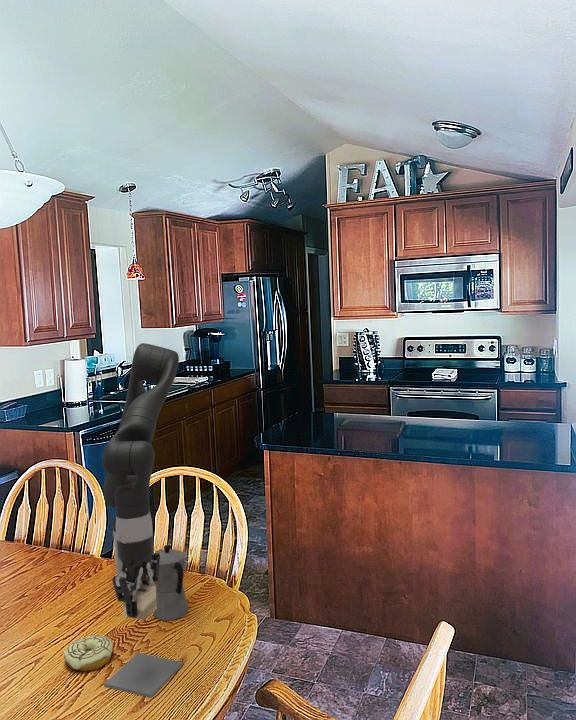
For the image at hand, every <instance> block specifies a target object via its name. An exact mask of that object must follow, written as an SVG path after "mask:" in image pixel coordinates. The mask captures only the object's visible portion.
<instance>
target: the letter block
mask: <svg viewBox="0 0 576 720" xmlns="http://www.w3.org/2000/svg"><path fill="white" fill-rule="evenodd" d="M129 593H130V595H132V590H131V589H130V590H129ZM122 595H123V594H122ZM136 600H137V612H138V616H137V617H136V618H135V619H136V620H137V619H138V620H143V621H144V620H145V619H146V618H147V617H149V616H150V615H151V614H152V613H153V612H154V611H155V610H156V609H157V599H156V585H154V586H150V585H143V584H140V588H139V589H138V590H137V596H136ZM122 609H123V617H125V618H129V617H128V616H127V613H126V602H122Z"/></svg>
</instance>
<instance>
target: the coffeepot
mask: <svg viewBox="0 0 576 720" xmlns="http://www.w3.org/2000/svg"><path fill="white" fill-rule="evenodd" d="M170 548H171V546H170V545H169V544H166V545H164V546H163V548H160V549H159V550H157V549H156V550H155V553H159V554H160V563H159V578H158V581H155V582H154V586H156V599H157V609H156V610H155V611H154V615H153V617H154V618H155V619H157V620H159V621H163V622H164V621H169V622H170V621H174V620H179V619H181V618H183V617H184V616H186V615H187V614H188V613H189V606H188V601H187V597H186V592H185V588H184V585H183V583H184V574H185V571H184V570H185V559H186V557H185V551H183V550H178V549H175V548H174V549H170ZM152 573H153V575H154V570H152Z"/></svg>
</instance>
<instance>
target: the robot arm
mask: <svg viewBox="0 0 576 720" xmlns="http://www.w3.org/2000/svg"><path fill="white" fill-rule="evenodd" d="M179 363H180V358H179V353H178V352H177V351H175V350H173V349H170V348H166V347H163V346H158V345H155V344H149V343H145V342H143V343H140V344H138V345H137V347H136V348H135V351H134V354H133V358H132V361H131V368H130V374H129V381H128V387H127V394H126V398H125V403H124V406H123V411H122V415H121V418H120V422H119V427H118V429H117V431H116V432H115V433H114V435H112V437H111V438H109V439H110V440H109V441H108V442H107V443H106V444H105V447H104V449H103V452H102V456H101V463H102V467H103V470H104V472H106V476H105V480H104V483H103V499H104V501H105V503H106V505H107V506H108V507H110V508H112V509H115V517H114V519H113V520H112V532H113V533H112V534H113V546H114V557H115V559H114V561H115V569H116V571H115V572H116V574H115V575H114V576H113V577H112V584H113V588H114V592H115V594H116V595H115V596H116V599H117V602H122V603H123V602H126V613H127V616H128V617H127V618H132V619H136V617H137V616H138V612H137V600H136V596H137V590H138V589H139V588H140V584H143V585H150V586H155V581H158V578H159V563H160V554H159V553H156V552H155V543H154V531H153V530H154V529H153V520H152V515H151V509H150V508H151V507H150V495H149V494H150V493H149V492H150V483H151V479H152V478H151V477H152V472H153V468H154V464H155V457H156V456H155V450H154V447H153V446H152V444H153V440H154V436H155V433H156V432H155V431H156V428H157V421H158V417H159V414H160V413H161V409H162V408H163V405H164V403H165V401H166V399H167V397H168V394H169V392H170V390H171V388H172V386H173V384H174V381H175V378H176V376H177V373H178V368H179ZM144 382H147V383H151V384H155V385H154V386H153V387H151V388H150V389H149V390H147V391H146V390H145V387H144ZM152 570H154V575H153V573H152ZM130 589H131V590H132V595H130V593H129V590H130ZM122 594H123V595H122Z"/></svg>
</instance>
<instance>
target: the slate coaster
mask: <svg viewBox="0 0 576 720" xmlns="http://www.w3.org/2000/svg"><path fill="white" fill-rule="evenodd" d="M183 666H184V662H183V661H178V660H175V659H169V658H164V657H159V656H156V655H151V654H147V653H141V652H137V653H136V654H135V655H134V656H133V657H132V658H130V659H129V660H128V661H127V662H126V663H125V664H124V665H123V666H122V667H120V669H118V670H117V671H116V672H114V674H113V675H112V676H110V677H109V678H108V679H107V680H106V681H105V682H104V683H103V686H104V687H106V688H111V689H113V690H114V689H115V690H119V691H123V692H127V693H131V694H134V695H135V694H136V695H139V696H144V697H147V698H151V699H152V698H153V697H154V696H155V695H156V694H157V693H158V692H159V691H160V690H161V689H162V687H164V685H165V684H166V683H167V682H168V681H170V679H171V678H172V677H173V676H174V675H175V674H177V672H178V671H179V669H181V668H182V667H183Z"/></svg>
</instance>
